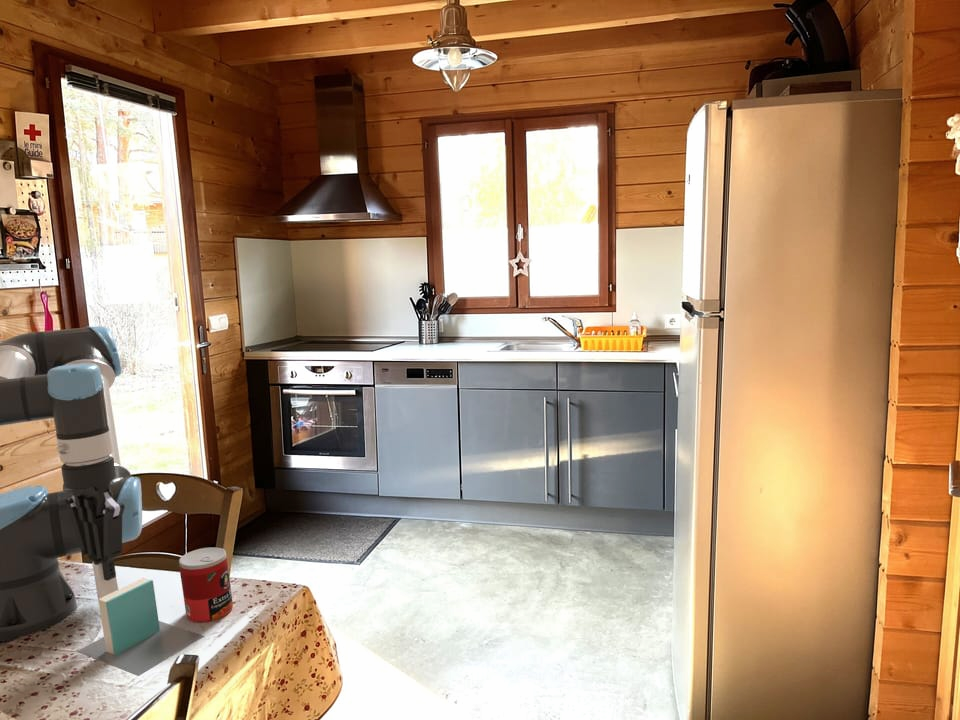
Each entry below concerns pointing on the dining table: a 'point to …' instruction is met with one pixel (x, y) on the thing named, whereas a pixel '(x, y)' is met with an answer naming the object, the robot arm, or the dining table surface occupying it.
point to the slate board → (145, 649)
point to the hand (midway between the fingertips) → (108, 596)
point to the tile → (129, 615)
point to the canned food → (206, 584)
